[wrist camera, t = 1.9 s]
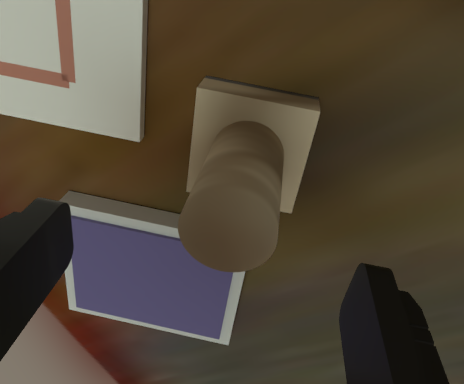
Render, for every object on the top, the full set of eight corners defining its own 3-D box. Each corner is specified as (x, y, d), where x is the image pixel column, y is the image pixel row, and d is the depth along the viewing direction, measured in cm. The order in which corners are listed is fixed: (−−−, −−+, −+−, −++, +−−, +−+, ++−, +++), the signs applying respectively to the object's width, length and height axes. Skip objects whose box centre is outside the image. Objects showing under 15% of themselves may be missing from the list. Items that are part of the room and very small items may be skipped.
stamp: (318, 97, 16) (329, 182, 10) (291, 192, 19) (288, 306, 13) (206, 75, 16) (152, 145, 10) (195, 172, 19) (146, 275, 13)
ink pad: (253, 230, 20) (251, 246, 19) (231, 329, 24) (227, 348, 23) (69, 190, 21) (55, 204, 19) (78, 294, 25) (67, 311, 24)
